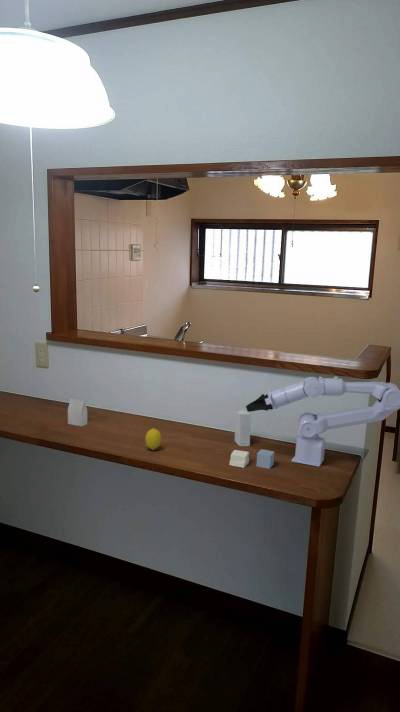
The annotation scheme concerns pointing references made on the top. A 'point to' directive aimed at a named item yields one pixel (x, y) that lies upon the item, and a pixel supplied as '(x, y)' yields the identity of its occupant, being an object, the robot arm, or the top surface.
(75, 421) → the white upright block
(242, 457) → the slab top
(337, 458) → the top surface
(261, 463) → the blue cube
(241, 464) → the slab bottom
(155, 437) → the lemon
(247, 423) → the skincare box
